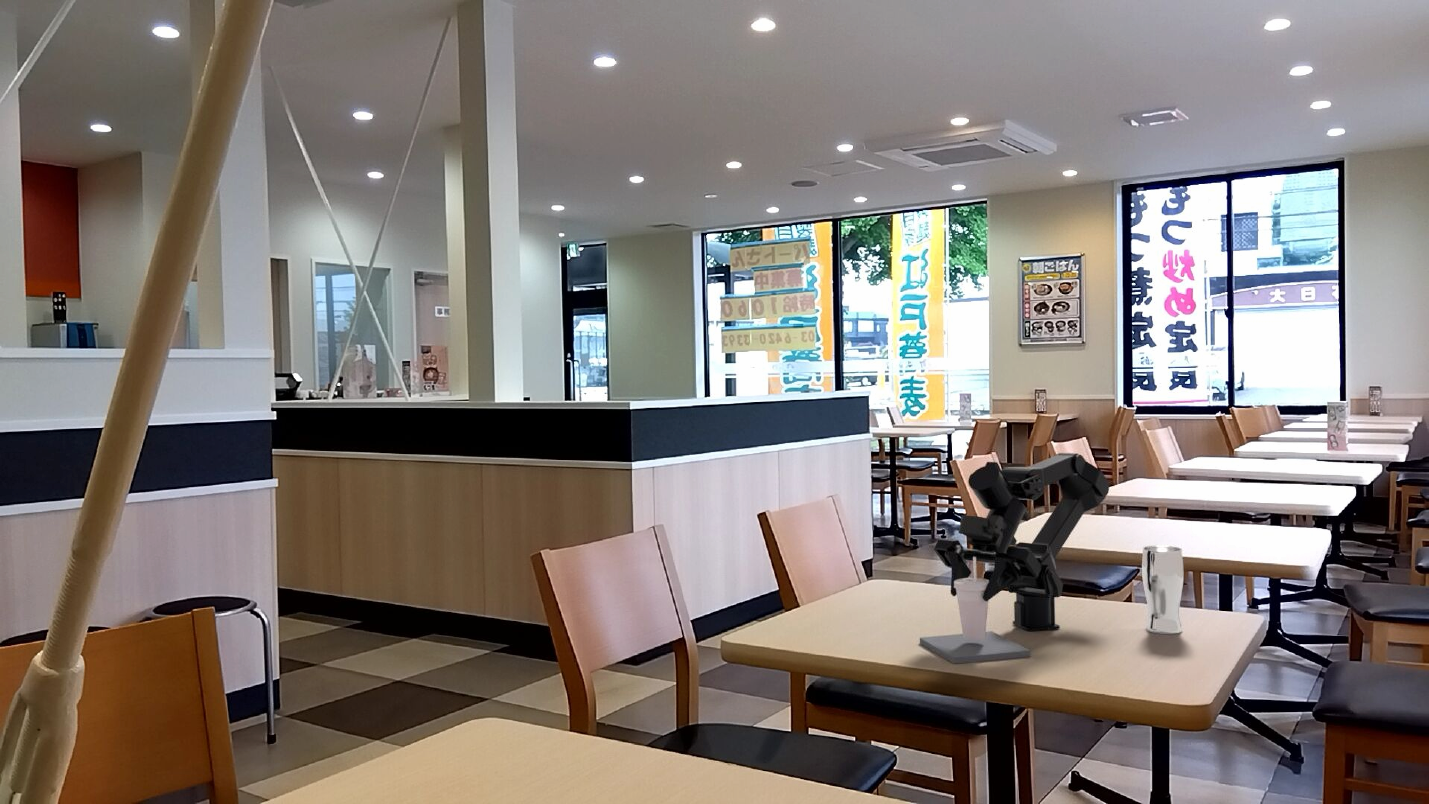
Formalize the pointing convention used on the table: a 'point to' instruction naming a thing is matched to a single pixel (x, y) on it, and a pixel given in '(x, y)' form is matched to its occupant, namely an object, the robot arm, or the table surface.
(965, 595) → the smoothie
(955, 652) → the placemat
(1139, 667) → the table surface
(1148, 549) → the beer glass
